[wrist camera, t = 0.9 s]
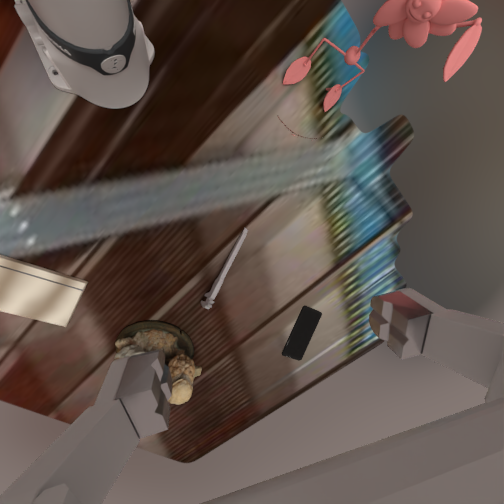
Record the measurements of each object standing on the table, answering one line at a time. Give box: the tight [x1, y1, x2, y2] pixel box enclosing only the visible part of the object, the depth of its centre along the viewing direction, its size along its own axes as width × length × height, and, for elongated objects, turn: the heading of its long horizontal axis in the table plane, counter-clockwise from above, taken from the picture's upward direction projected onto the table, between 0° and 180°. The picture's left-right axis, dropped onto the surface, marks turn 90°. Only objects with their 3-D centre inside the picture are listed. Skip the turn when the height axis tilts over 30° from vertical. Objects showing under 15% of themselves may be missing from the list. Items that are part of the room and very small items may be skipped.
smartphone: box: [282, 306, 322, 360], centre depth 66 cm, size 7×1×15 cm
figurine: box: [277, 0, 482, 139], centre depth 41 cm, size 15×26×35 cm, turn 66°
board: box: [0, 255, 88, 327], centre depth 41 cm, size 24×9×2 cm, turn 64°
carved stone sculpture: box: [114, 320, 202, 404], centre depth 45 cm, size 18×12×17 cm, turn 64°
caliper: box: [201, 228, 248, 309], centre depth 53 cm, size 20×1×6 cm, turn 147°
